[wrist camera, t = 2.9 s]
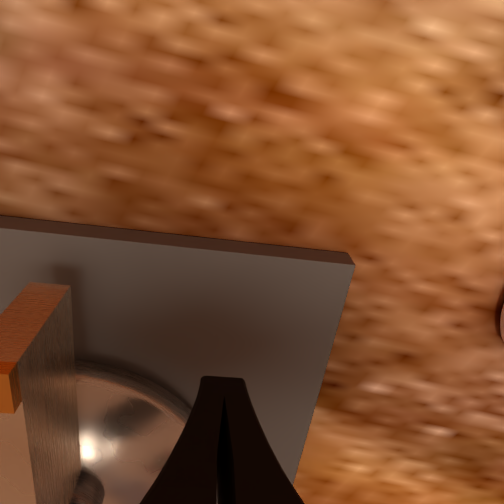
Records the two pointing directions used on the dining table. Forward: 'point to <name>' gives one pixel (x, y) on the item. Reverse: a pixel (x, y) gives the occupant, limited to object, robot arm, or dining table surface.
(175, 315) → the dial board
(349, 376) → the dining table surface
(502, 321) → the can
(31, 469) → the dial
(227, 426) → the robot arm
